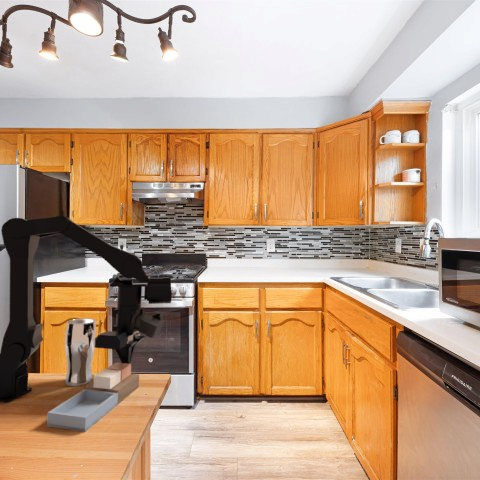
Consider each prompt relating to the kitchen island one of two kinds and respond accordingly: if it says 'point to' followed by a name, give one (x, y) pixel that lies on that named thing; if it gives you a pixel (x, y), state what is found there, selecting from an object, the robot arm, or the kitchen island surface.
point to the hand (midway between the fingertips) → (126, 367)
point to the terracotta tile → (121, 369)
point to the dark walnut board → (121, 387)
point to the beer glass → (79, 350)
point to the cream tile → (107, 379)
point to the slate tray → (82, 410)
